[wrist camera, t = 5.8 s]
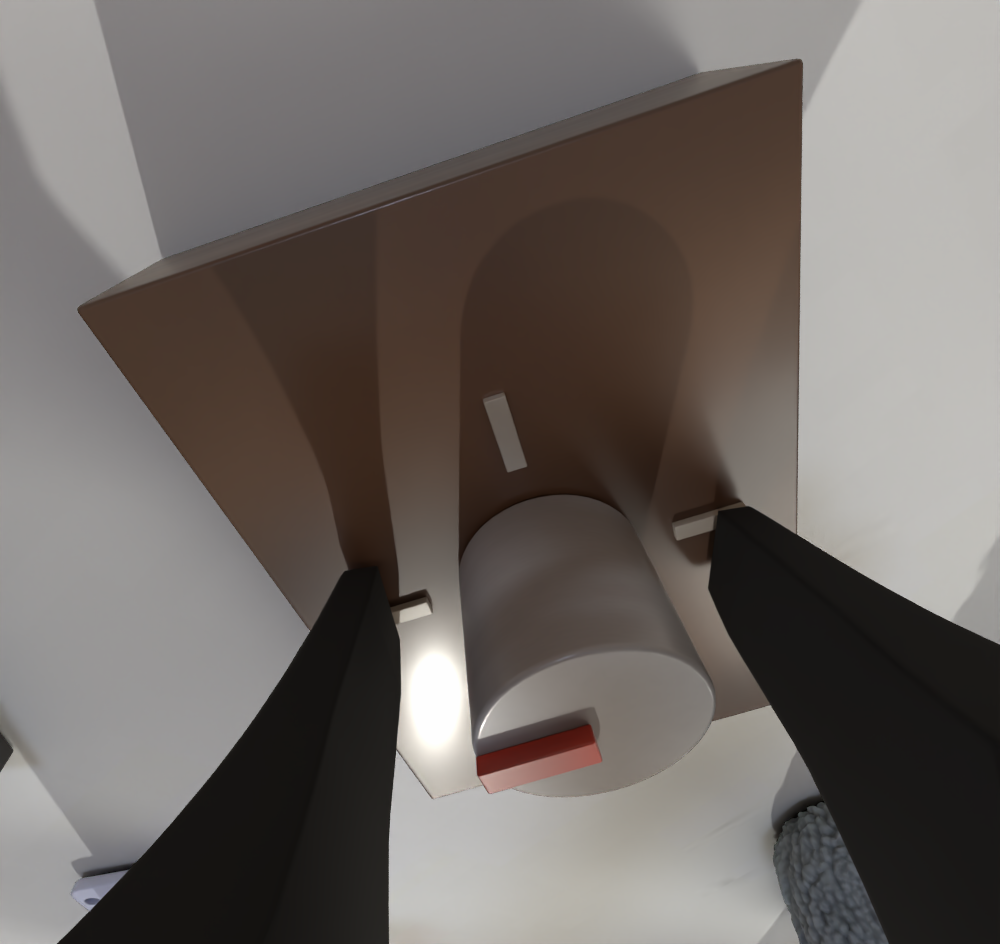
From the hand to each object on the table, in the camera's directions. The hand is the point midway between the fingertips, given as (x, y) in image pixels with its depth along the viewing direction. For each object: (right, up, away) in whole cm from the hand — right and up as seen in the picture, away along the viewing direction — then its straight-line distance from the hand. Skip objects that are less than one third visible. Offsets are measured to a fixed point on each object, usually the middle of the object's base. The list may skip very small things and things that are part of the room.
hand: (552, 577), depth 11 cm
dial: (0, 0, 0) cm, 0 cm away
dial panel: (0, +2, +3) cm, 3 cm away
